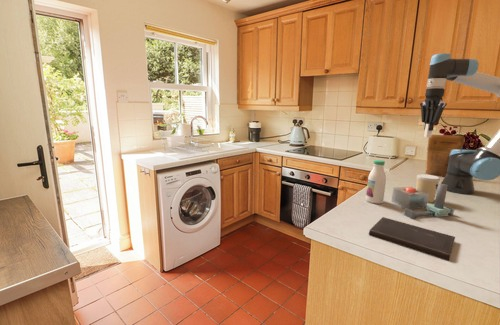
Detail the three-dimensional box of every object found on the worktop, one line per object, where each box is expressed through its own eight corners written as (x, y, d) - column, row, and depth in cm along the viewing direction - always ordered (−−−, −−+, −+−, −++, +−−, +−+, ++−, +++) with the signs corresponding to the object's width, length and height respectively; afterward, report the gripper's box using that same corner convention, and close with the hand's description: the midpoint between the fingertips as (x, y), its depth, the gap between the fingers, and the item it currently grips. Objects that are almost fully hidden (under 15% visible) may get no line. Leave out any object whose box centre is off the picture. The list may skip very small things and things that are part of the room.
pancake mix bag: (456, 179, 171) (465, 136, 165) (422, 174, 183) (428, 133, 177) (457, 177, 176) (465, 135, 170) (423, 172, 188) (430, 133, 182)
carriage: (436, 211, 116) (442, 182, 113) (449, 216, 110) (455, 186, 108) (425, 211, 115) (430, 182, 112) (437, 217, 109) (443, 187, 106)
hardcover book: (382, 222, 105) (382, 216, 105) (453, 242, 90) (455, 236, 90) (368, 236, 93) (369, 230, 93) (448, 262, 78) (450, 255, 78)
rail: (444, 211, 116) (445, 205, 115) (452, 215, 112) (454, 208, 111) (404, 214, 111) (405, 208, 111) (411, 218, 108) (412, 212, 107)
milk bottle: (381, 199, 130) (387, 159, 125) (384, 205, 122) (389, 162, 118) (364, 197, 132) (369, 158, 128) (366, 202, 125) (371, 161, 121)
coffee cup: (439, 203, 126) (443, 179, 123) (417, 202, 128) (421, 178, 125) (430, 197, 135) (434, 174, 132) (410, 195, 137) (413, 173, 134)
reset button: (409, 199, 125) (411, 187, 124) (416, 202, 121) (418, 189, 120) (402, 199, 124) (403, 187, 123) (408, 202, 121) (410, 190, 119)
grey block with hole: (408, 200, 129) (411, 186, 128) (426, 208, 120) (428, 193, 118) (391, 201, 127) (393, 187, 126) (407, 209, 118) (410, 194, 116)
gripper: (417, 88, 133) (410, 135, 137) (441, 87, 120) (432, 138, 125) (430, 89, 134) (422, 135, 139) (454, 87, 122) (445, 138, 127)
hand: (427, 137), depth 132 cm, fingers closed
